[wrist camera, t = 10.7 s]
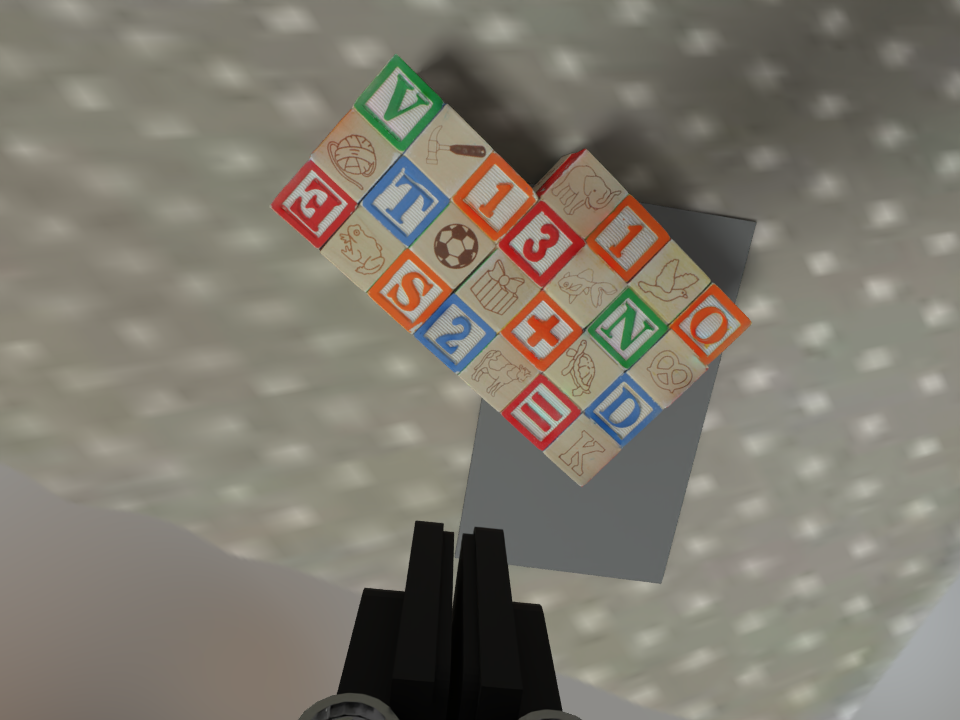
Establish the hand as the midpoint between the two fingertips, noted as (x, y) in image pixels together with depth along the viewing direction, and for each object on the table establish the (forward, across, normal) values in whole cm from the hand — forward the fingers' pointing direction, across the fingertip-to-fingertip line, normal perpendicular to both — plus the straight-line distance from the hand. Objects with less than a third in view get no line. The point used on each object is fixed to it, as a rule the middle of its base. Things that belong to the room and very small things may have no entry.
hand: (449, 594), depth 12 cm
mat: (+26, -9, +4) cm, 28 cm away
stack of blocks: (+23, +1, +1) cm, 23 cm away
